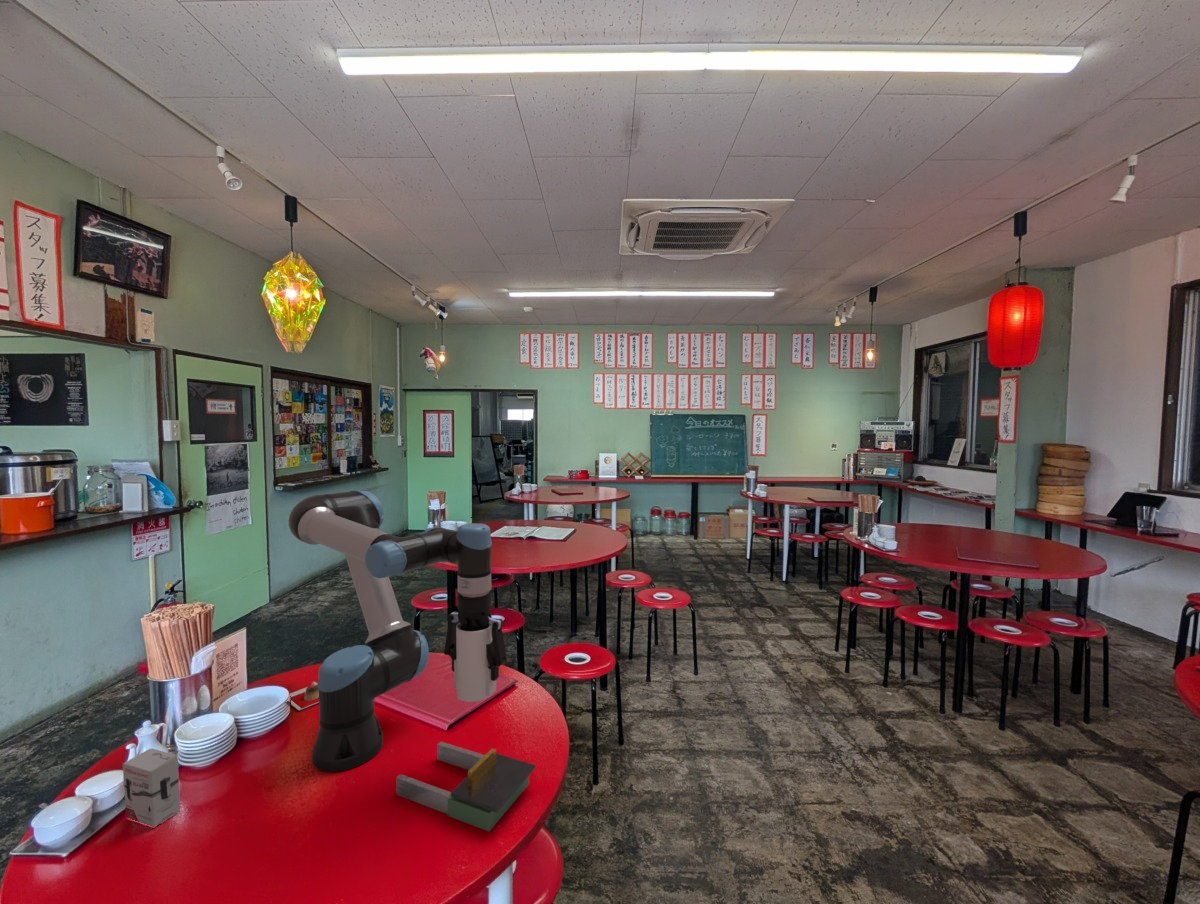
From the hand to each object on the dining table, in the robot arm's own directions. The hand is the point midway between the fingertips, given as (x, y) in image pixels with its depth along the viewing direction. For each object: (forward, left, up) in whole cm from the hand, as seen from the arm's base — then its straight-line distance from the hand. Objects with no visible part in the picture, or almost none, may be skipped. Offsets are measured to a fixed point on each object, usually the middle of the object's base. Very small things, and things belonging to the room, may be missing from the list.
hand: (475, 689), depth 114 cm
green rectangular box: (+10, -9, -17) cm, 22 cm away
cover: (+12, -9, -13) cm, 20 cm away
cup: (0, 0, -1) cm, 1 cm away
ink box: (-49, -39, -17) cm, 65 cm away
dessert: (-62, +4, -18) cm, 65 cm away
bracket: (-2, -9, -17) cm, 19 cm away
